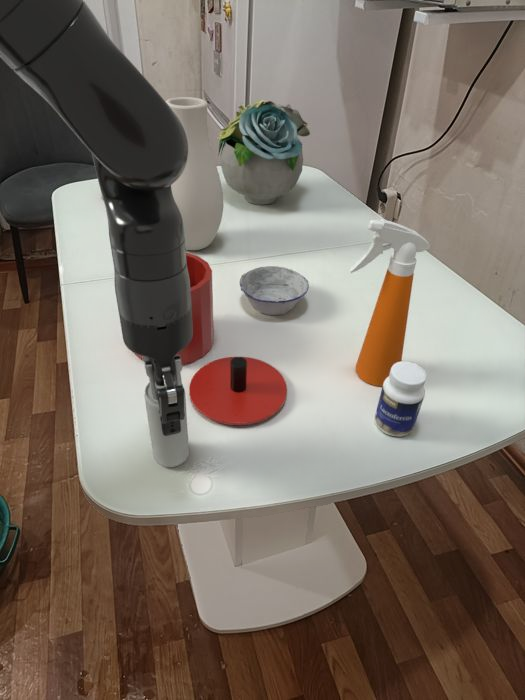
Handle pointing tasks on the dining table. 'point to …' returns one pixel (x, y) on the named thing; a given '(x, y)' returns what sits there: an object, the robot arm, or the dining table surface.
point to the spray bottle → (389, 299)
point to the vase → (197, 176)
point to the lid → (238, 390)
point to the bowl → (273, 289)
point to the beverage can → (166, 447)
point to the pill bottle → (401, 399)
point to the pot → (199, 310)
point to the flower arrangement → (263, 151)
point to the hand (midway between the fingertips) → (167, 416)
